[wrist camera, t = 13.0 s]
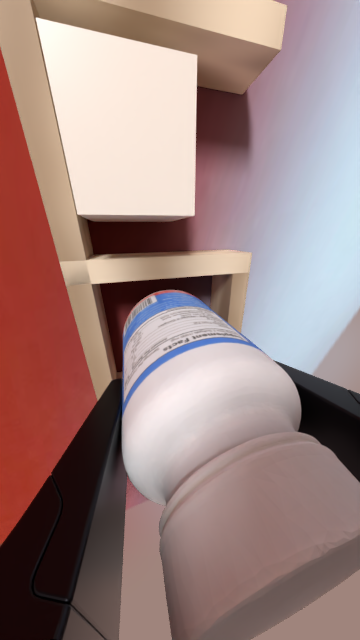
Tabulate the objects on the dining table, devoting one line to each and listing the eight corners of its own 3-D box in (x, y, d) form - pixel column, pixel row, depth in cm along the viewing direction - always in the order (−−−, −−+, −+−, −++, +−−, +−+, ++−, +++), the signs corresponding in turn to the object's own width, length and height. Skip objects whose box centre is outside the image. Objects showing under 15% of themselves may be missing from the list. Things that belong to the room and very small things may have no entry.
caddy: (244, 63, 9) (286, 5, 6) (217, 363, 16) (233, 384, 14) (14, 9, 6) (-43, -109, 4) (104, 386, 14) (101, 415, 11)
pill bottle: (206, 358, 13) (353, 582, 5) (128, 372, 12) (140, 711, 4) (211, 282, 11) (514, 452, 2) (116, 289, 10) (61, 690, 1)
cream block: (167, 126, 9) (197, 55, 5) (170, 221, 10) (194, 215, 7) (73, 114, 8) (35, 17, 4) (93, 221, 10) (77, 214, 6)
